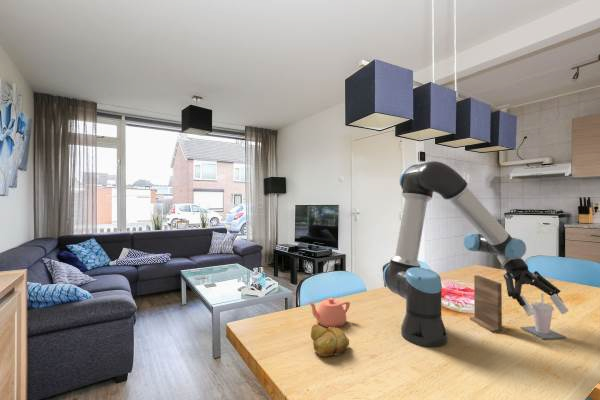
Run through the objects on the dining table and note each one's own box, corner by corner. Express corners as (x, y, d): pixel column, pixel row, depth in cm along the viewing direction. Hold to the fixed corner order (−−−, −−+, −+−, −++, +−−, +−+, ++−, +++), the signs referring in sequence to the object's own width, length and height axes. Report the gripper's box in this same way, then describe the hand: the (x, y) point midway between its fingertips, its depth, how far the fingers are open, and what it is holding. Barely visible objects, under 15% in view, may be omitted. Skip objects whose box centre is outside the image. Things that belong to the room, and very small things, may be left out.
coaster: (543, 339, 100) (543, 338, 100) (520, 328, 109) (520, 326, 109) (566, 338, 101) (566, 336, 101) (542, 327, 110) (542, 325, 110)
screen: (492, 332, 105) (492, 283, 105) (469, 319, 117) (469, 275, 117) (507, 331, 106) (506, 283, 106) (483, 318, 118) (482, 275, 118)
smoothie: (533, 333, 103) (533, 294, 104) (529, 326, 109) (529, 289, 109) (556, 337, 100) (556, 297, 100) (551, 329, 106) (550, 292, 106)
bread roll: (343, 341, 99) (343, 318, 99) (356, 356, 89) (356, 330, 90) (308, 346, 95) (308, 322, 95) (317, 362, 86) (317, 335, 86)
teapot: (356, 326, 111) (356, 301, 111) (312, 331, 106) (312, 306, 106) (343, 314, 123) (343, 292, 123) (303, 319, 118) (303, 296, 118)
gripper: (533, 267, 121) (571, 316, 106) (480, 268, 119) (510, 319, 104) (545, 256, 116) (587, 307, 101) (489, 258, 113) (523, 310, 98)
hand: (548, 313), depth 102 cm, fingers open, 13 cm apart
